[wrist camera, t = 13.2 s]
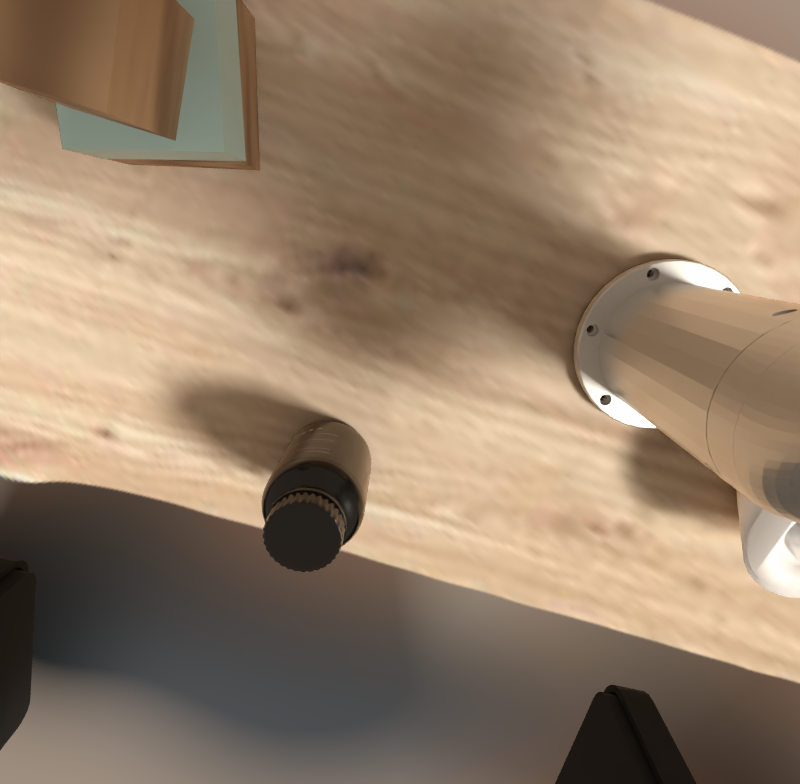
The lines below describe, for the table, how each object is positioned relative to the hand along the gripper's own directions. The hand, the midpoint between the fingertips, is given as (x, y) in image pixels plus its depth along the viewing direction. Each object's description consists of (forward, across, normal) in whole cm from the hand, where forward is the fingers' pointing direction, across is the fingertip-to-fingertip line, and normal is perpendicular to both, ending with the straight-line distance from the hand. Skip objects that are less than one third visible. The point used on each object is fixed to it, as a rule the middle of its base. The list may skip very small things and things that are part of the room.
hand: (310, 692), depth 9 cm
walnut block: (+25, +17, -12) cm, 32 cm away
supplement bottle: (+32, +2, +11) cm, 34 cm away
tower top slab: (+29, +16, -12) cm, 35 cm away
